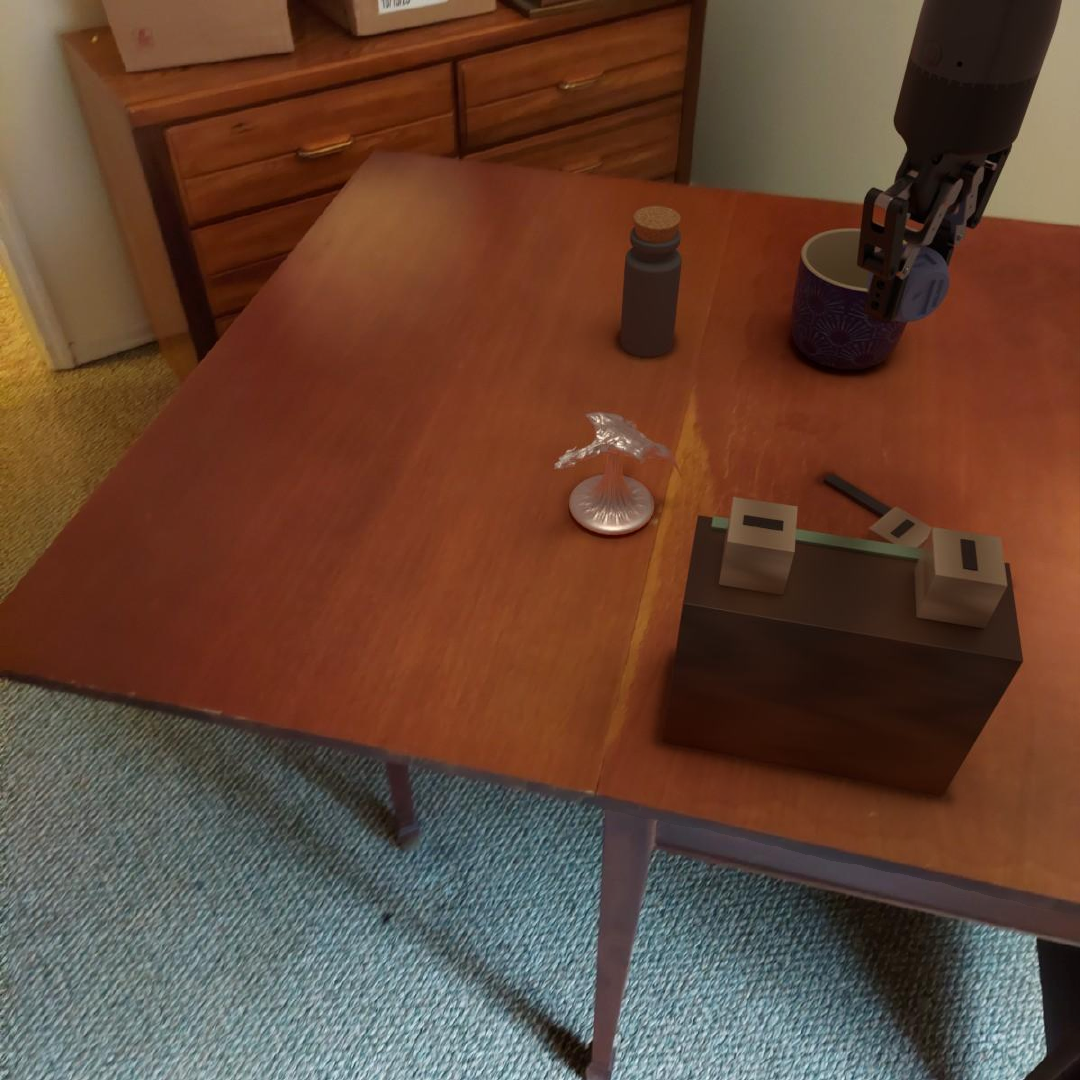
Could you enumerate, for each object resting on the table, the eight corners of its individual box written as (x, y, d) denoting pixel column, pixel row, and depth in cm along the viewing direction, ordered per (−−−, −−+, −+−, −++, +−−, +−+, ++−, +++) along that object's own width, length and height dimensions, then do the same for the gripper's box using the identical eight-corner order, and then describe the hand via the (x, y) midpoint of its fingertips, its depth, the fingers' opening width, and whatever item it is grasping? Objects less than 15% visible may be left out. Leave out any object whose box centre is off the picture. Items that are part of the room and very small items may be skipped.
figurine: (683, 508, 88) (694, 428, 81) (580, 565, 83) (582, 485, 76) (629, 463, 92) (635, 383, 85) (528, 514, 87) (526, 434, 80)
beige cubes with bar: (1005, 582, 81) (1022, 549, 78) (960, 626, 78) (976, 594, 75) (831, 476, 91) (840, 443, 88) (784, 512, 87) (792, 479, 84)
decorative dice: (894, 327, 68) (909, 277, 65) (860, 299, 70) (874, 249, 67) (940, 315, 69) (957, 265, 66) (905, 288, 71) (920, 238, 68)
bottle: (671, 360, 104) (685, 233, 93) (617, 356, 104) (624, 228, 93) (674, 330, 108) (688, 204, 97) (622, 325, 108) (630, 200, 97)
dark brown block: (937, 704, 73) (1033, 517, 58) (942, 796, 67) (1050, 617, 53) (675, 657, 76) (705, 469, 62) (661, 742, 71) (689, 558, 56)
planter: (801, 305, 111) (820, 217, 103) (909, 333, 107) (938, 243, 99) (767, 362, 103) (785, 271, 95) (882, 394, 99) (911, 302, 91)
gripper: (967, 105, 52) (888, 365, 64) (1094, 41, 58) (1001, 287, 71) (852, 68, 56) (798, 319, 68) (983, 11, 62) (912, 250, 74)
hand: (902, 302), depth 69 cm, fingers closed on decorative dice, 5 cm apart
